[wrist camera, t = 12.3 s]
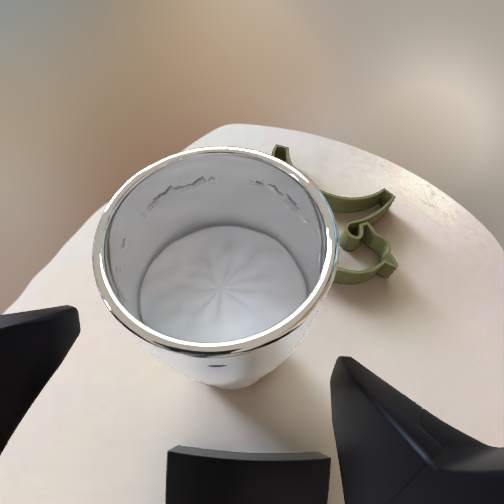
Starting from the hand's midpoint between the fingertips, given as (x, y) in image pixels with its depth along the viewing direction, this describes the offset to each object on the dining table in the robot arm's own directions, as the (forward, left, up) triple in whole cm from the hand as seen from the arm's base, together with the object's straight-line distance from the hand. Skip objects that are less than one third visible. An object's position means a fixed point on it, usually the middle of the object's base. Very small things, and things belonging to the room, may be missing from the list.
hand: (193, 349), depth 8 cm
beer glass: (+3, -1, -12) cm, 12 cm away
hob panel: (-11, -2, -12) cm, 17 cm away
